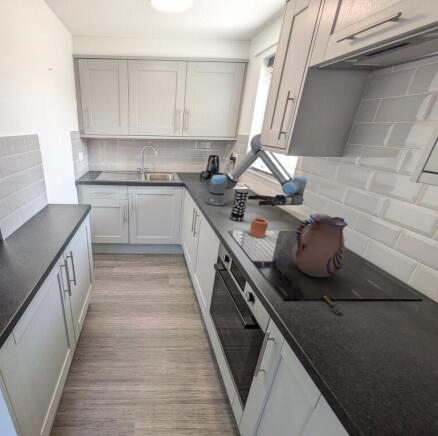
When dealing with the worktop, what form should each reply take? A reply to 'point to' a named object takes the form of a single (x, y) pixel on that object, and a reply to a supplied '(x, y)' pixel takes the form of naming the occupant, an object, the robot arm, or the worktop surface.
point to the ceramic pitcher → (320, 245)
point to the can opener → (332, 305)
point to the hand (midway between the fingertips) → (253, 200)
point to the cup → (258, 227)
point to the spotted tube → (239, 205)
